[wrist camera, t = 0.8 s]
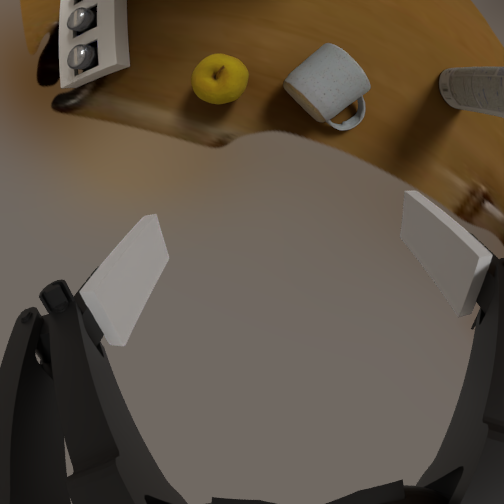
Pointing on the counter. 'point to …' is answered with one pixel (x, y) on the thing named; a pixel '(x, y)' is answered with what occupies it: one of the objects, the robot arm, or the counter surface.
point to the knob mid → (82, 20)
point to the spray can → (474, 89)
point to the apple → (219, 79)
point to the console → (106, 34)
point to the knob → (83, 57)
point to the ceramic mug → (329, 85)
